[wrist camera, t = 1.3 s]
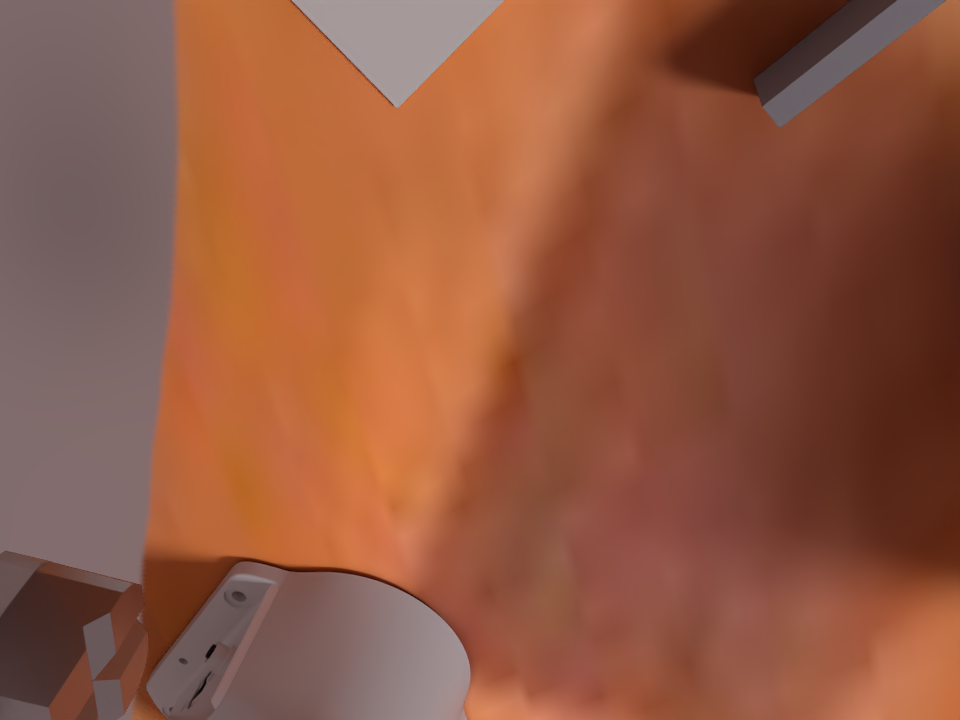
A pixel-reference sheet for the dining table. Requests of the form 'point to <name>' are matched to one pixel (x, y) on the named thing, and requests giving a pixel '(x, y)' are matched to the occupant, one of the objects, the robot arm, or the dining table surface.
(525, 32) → the dining table surface
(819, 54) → the lane organiser
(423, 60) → the mat
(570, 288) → the dining table surface
